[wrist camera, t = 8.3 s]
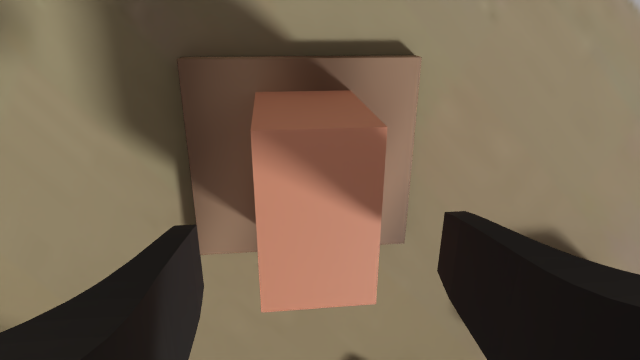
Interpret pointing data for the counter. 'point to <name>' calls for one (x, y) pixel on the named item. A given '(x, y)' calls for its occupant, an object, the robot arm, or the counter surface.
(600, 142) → the counter surface
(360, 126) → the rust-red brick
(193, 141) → the walnut board
